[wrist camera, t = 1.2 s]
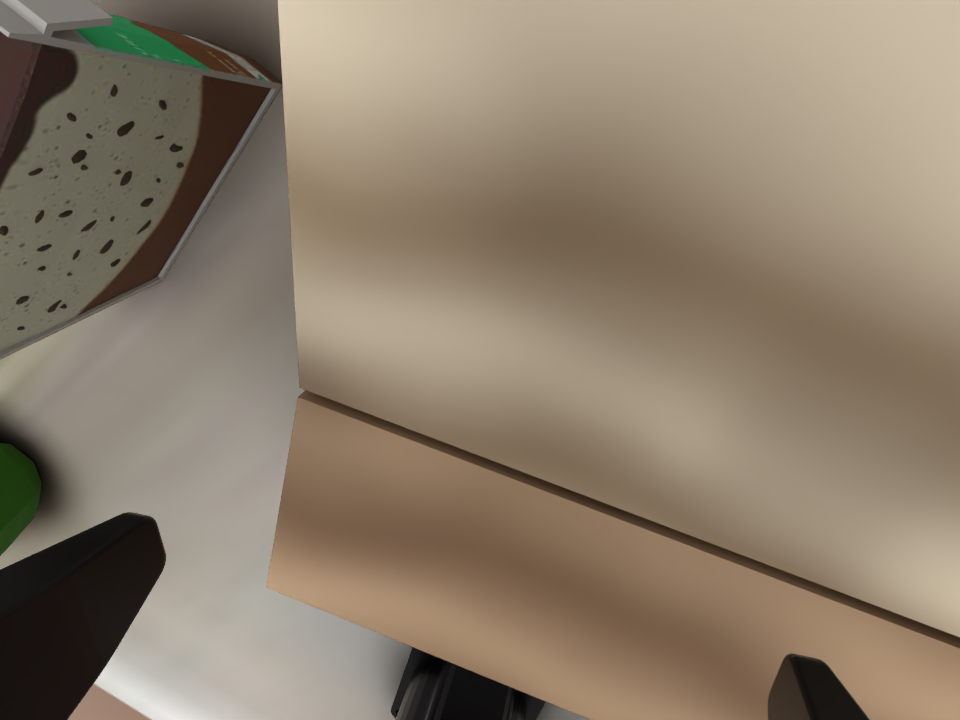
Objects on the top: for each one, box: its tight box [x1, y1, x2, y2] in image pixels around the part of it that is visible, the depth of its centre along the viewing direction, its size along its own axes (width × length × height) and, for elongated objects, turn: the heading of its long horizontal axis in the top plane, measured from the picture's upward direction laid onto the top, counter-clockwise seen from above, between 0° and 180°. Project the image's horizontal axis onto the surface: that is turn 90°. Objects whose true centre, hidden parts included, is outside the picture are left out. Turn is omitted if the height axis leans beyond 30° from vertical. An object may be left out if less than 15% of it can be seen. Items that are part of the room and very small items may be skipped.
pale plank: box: [278, 0, 960, 637], centre depth 11 cm, size 12×20×2 cm, turn 74°
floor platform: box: [266, 390, 960, 720], centre depth 17 cm, size 20×20×7 cm
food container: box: [0, 0, 283, 359], centre depth 17 cm, size 12×6×10 cm, turn 139°
